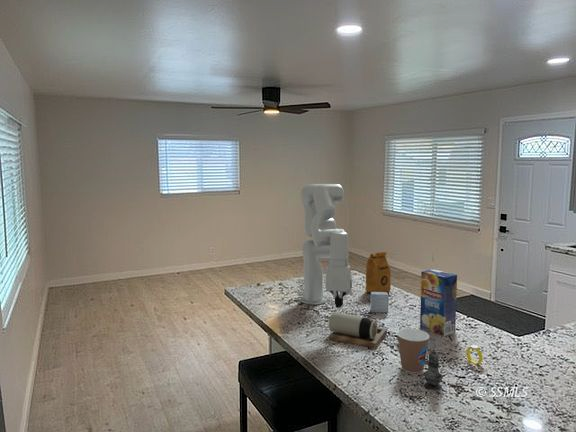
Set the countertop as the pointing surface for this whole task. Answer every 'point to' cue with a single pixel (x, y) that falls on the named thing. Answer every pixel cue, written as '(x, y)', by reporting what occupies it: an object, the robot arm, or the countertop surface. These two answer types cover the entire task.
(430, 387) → the grey stone figurine
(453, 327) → the juice carton
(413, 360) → the coffee cup
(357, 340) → the walnut tray
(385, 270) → the coffee package
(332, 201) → the robot arm
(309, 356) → the countertop surface
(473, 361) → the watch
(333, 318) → the travel mug
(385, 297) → the medicine box
